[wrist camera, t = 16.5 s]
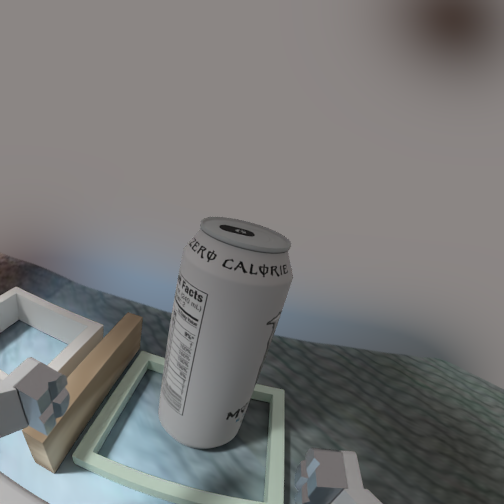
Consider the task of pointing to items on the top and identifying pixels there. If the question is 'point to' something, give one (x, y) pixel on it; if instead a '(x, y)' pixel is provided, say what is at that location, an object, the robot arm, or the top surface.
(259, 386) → the socket
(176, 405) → the energy drink can
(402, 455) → the top surface
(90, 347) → the socket
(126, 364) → the rail
